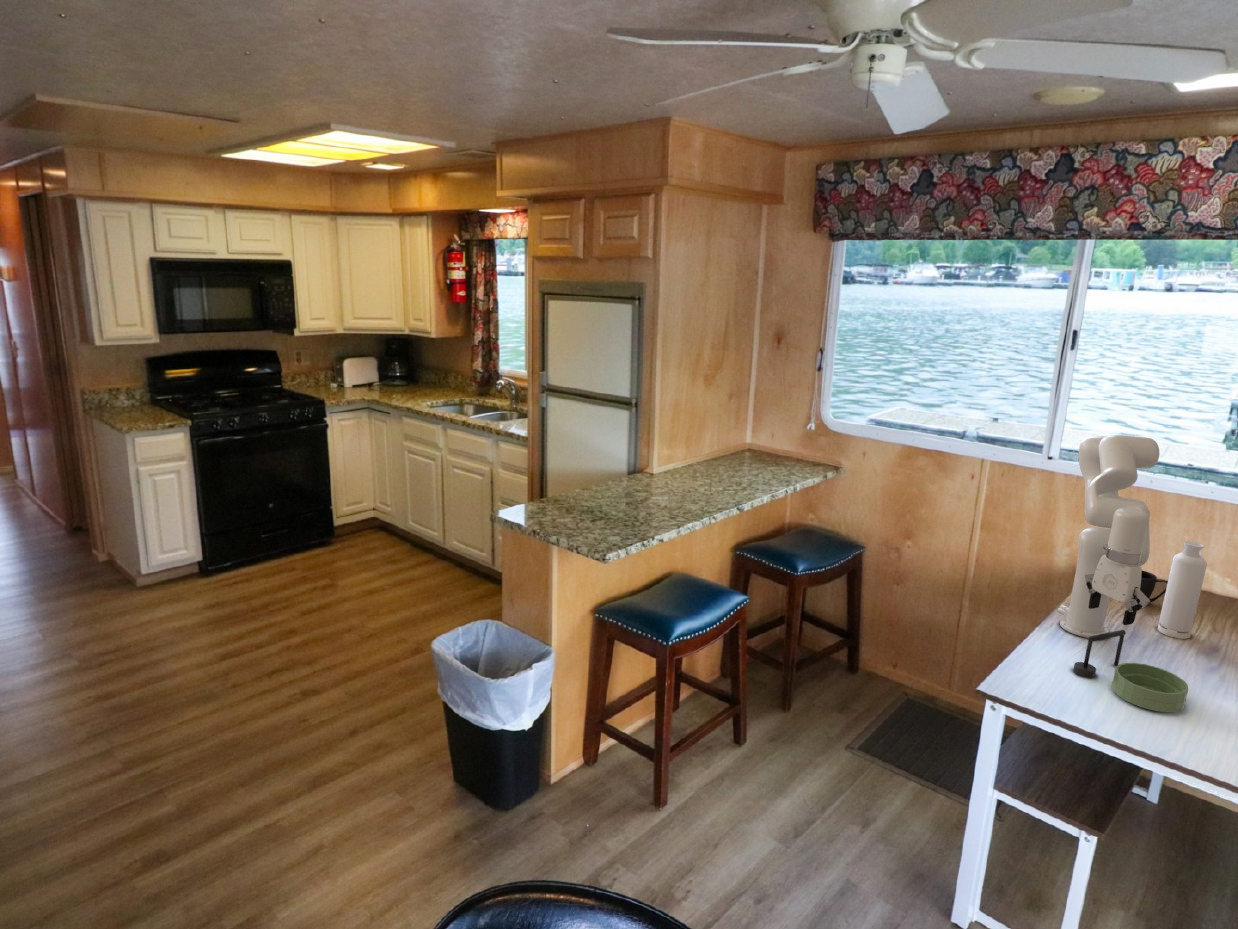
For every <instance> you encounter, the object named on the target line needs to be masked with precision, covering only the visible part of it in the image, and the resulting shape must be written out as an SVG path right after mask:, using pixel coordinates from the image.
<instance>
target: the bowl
mask: <svg viewBox="0 0 1238 929" xmlns="http://www.w3.org/2000/svg"><path fill="white" fill-rule="evenodd" d="M1114 668H1115V669H1114V673H1113V677H1112V681H1111V682H1112V683H1111V689H1112V691H1113V692H1114V693H1115V694H1116V695H1117V696H1118V697H1120V698H1121V699H1123V700H1125V701H1126V702H1128V703H1130V704H1132V705H1135V706H1137V707H1140V708H1143V709H1146V710H1151V711H1153V712H1160V713H1177V712H1180V711H1182V710H1183V709H1184V708H1185V706H1186V701H1187V698H1188V693H1189V685H1188V684H1187V682H1186V681H1185V680H1184V679H1183V678H1181V677H1180V676H1178V675H1176V674H1175V673H1173V672H1171V671H1169V670H1167V669H1163V668H1160V667H1158V666H1154V665H1151V664H1146V663H1139V662H1123V663H1118V666H1115V667H1114Z"/></svg>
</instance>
